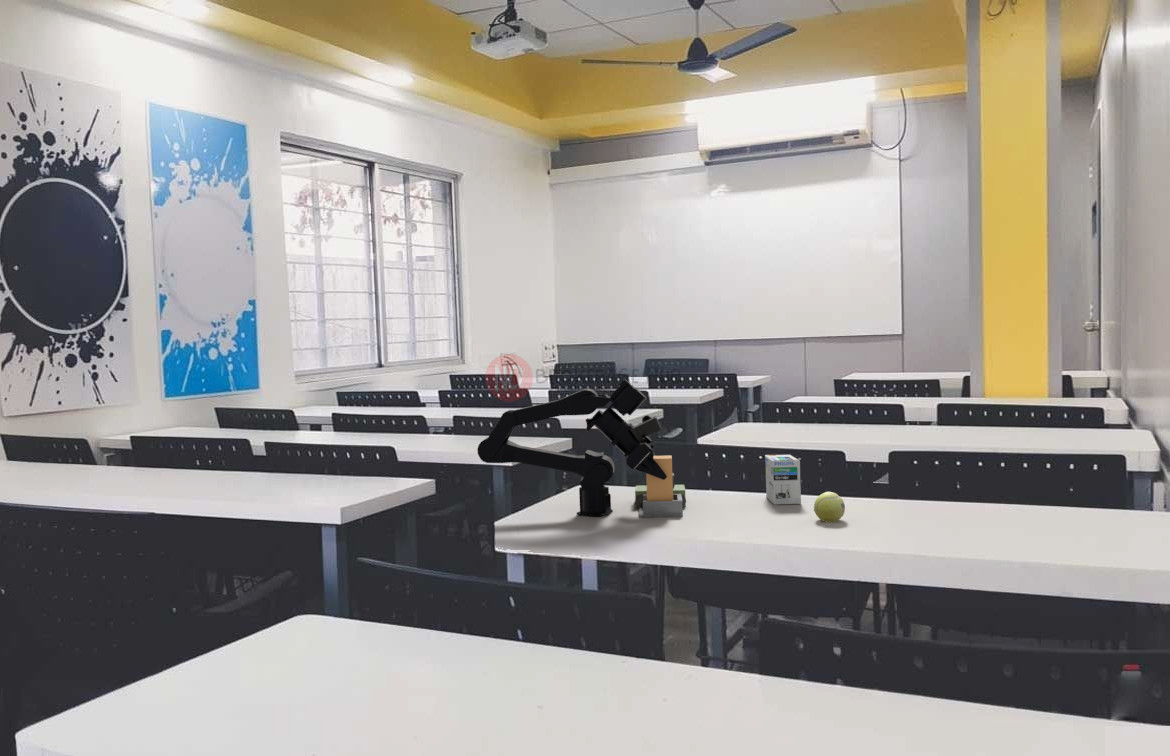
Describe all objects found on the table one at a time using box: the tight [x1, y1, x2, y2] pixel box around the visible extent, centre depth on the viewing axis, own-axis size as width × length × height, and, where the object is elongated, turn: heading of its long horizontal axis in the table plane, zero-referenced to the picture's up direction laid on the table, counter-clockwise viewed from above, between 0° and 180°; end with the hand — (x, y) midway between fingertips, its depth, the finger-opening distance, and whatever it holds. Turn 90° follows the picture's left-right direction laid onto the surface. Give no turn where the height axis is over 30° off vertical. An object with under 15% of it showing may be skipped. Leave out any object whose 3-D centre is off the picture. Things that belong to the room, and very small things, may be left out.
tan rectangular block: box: [645, 455, 673, 501], centre depth 211 cm, size 6×5×12 cm
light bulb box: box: [764, 454, 802, 505], centre depth 220 cm, size 11×7×11 cm, turn 179°
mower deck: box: [634, 472, 687, 509], centre depth 221 cm, size 12×10×7 cm
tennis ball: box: [813, 491, 846, 523], centre depth 196 cm, size 6×7×7 cm
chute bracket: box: [638, 494, 684, 518], centre depth 211 cm, size 10×10×4 cm
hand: (665, 476), depth 211 cm, fingers open, 6 cm apart
